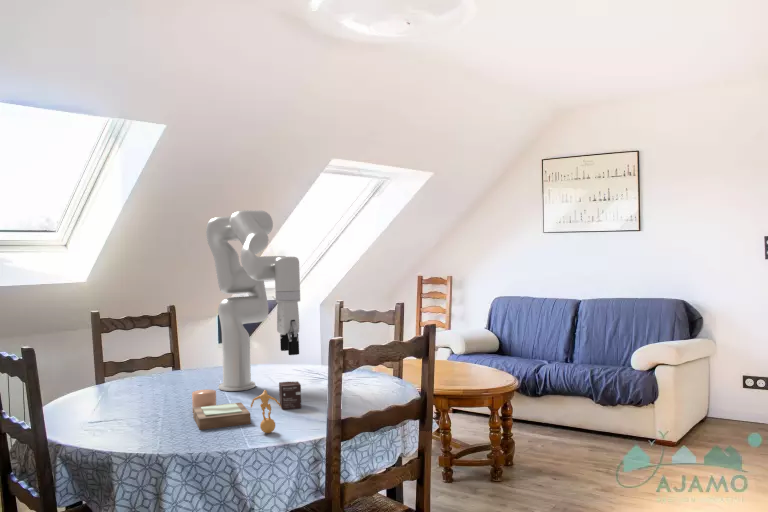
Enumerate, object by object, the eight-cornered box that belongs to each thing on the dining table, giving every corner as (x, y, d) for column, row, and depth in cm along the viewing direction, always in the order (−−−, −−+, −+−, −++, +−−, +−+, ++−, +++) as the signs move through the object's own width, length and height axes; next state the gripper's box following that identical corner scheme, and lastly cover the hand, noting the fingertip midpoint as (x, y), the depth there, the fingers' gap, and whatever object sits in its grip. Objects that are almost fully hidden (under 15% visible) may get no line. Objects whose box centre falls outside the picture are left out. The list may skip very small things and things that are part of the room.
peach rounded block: (191, 410, 211) (190, 390, 211) (214, 407, 214) (214, 388, 214) (194, 415, 205) (193, 395, 205) (218, 413, 207) (217, 393, 207)
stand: (193, 417, 202) (193, 406, 202) (241, 412, 208) (241, 401, 207) (199, 429, 189) (199, 417, 189) (250, 423, 195) (250, 411, 195)
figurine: (284, 430, 187) (284, 386, 187) (279, 437, 181) (278, 391, 181) (254, 430, 188) (253, 386, 187) (248, 437, 182) (247, 391, 181)
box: (281, 410, 210) (281, 386, 209) (279, 405, 215) (278, 382, 215) (301, 408, 211) (301, 384, 211) (298, 404, 217) (298, 380, 217)
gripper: (269, 296, 219) (271, 350, 219) (282, 299, 203) (284, 357, 203) (292, 294, 221) (294, 348, 222) (307, 297, 205) (309, 355, 206)
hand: (289, 352), depth 212 cm, fingers open, 9 cm apart
